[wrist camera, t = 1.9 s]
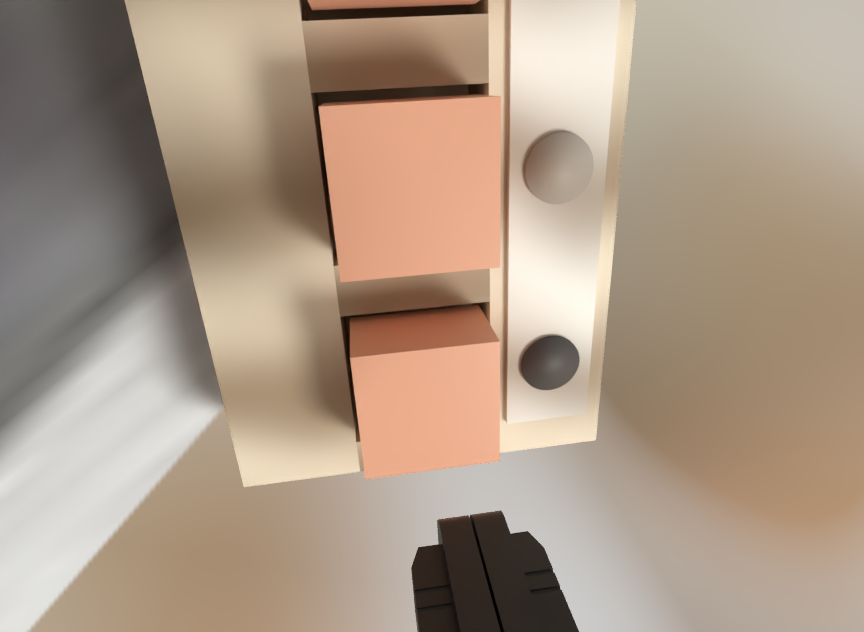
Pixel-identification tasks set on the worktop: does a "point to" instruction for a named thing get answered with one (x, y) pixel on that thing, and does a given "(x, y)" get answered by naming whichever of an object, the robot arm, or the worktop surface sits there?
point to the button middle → (414, 184)
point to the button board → (312, 217)
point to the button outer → (426, 390)
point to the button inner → (381, 3)
